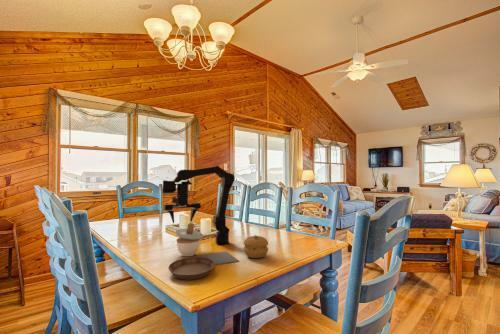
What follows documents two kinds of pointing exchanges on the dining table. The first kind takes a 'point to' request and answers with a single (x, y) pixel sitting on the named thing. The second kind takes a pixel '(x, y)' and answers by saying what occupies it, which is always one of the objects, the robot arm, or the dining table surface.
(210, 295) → the dining table surface
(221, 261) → the mat
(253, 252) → the pot
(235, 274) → the dining table surface
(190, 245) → the lidded jar
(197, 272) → the plant saucer
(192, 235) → the lid
